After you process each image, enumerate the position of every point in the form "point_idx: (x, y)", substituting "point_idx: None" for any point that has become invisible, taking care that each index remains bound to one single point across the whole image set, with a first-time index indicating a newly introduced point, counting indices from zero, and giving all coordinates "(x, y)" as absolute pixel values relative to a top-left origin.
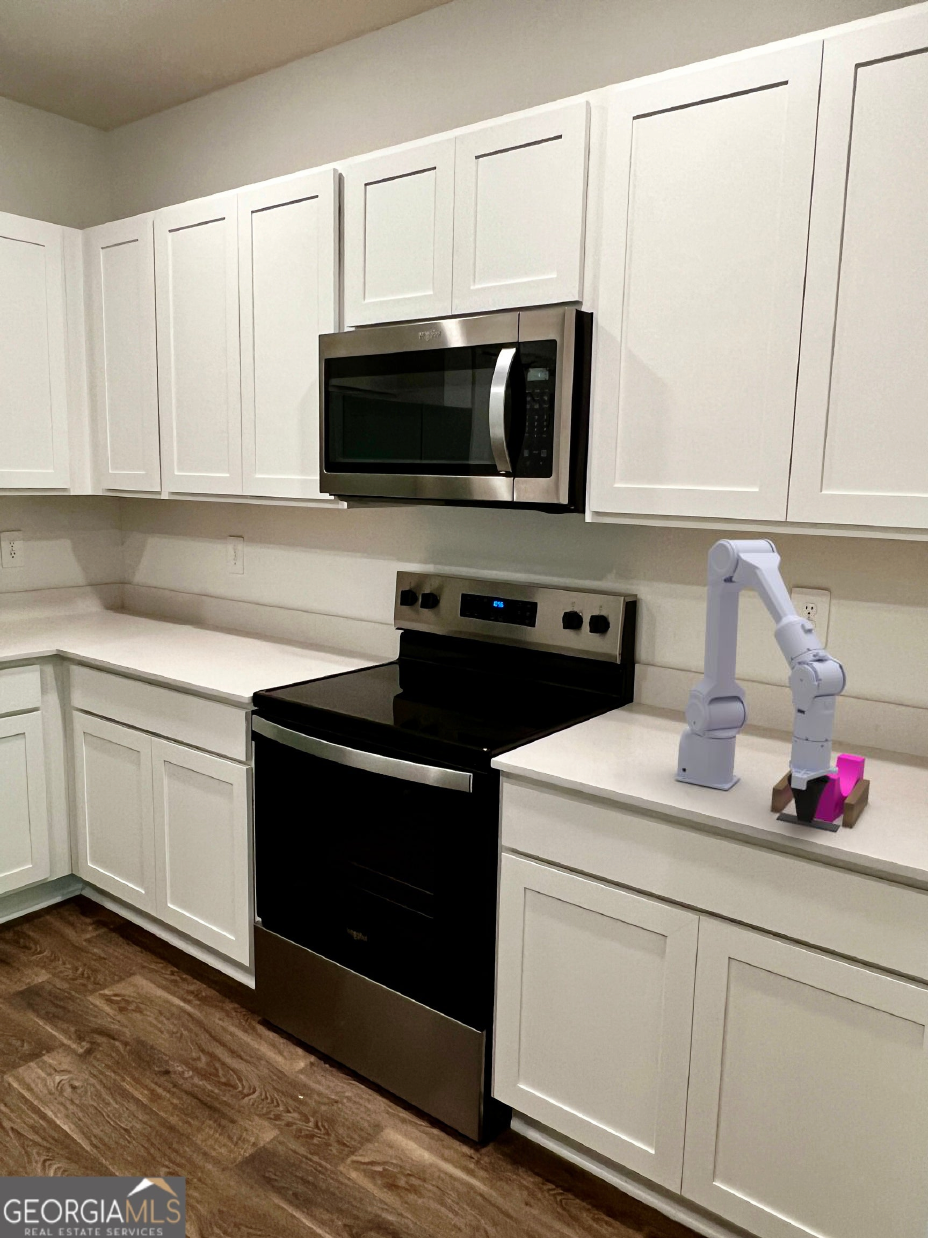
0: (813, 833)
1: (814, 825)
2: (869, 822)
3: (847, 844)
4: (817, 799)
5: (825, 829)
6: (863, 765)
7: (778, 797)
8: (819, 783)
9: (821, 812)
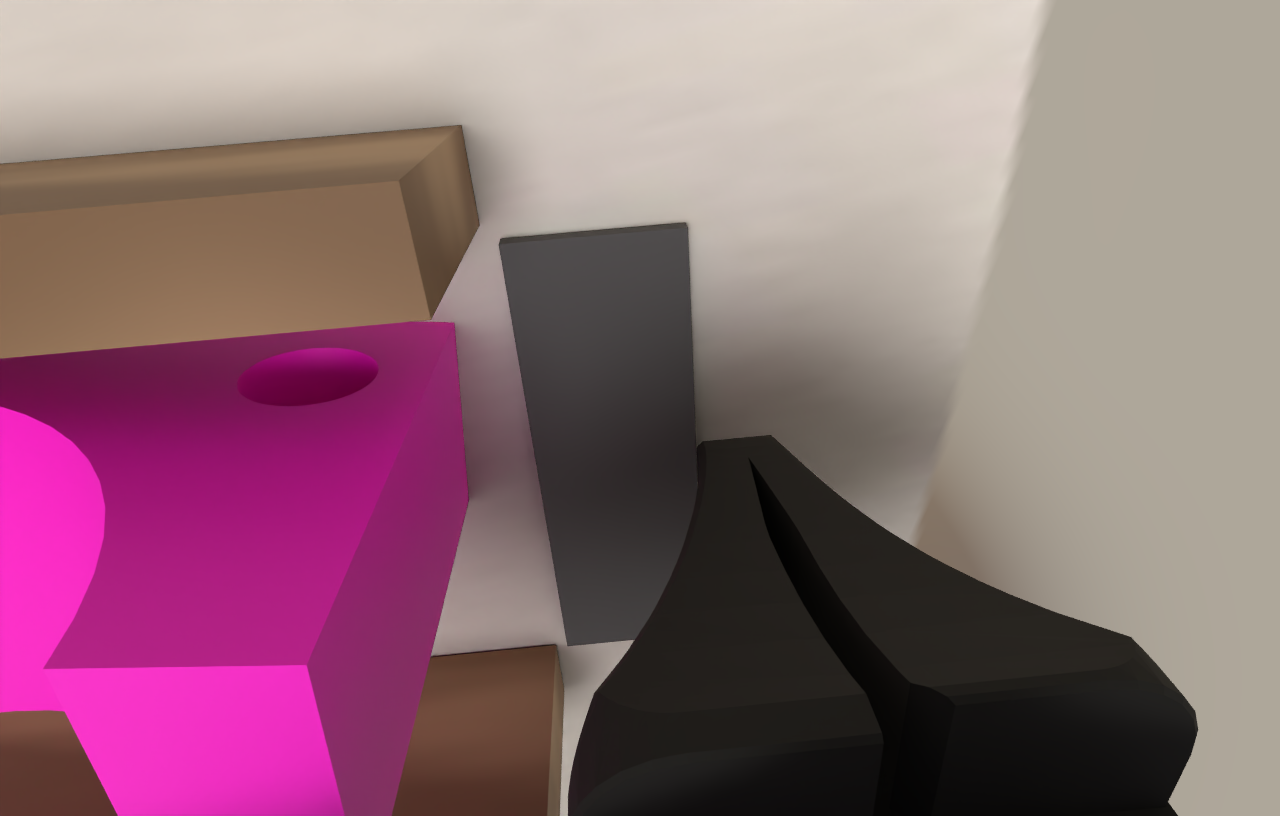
0: (814, 364)
1: (679, 407)
2: (93, 14)
3: (927, 39)
4: (935, 562)
5: (688, 315)
6: None
7: (554, 764)
8: (1062, 763)
9: (447, 450)
